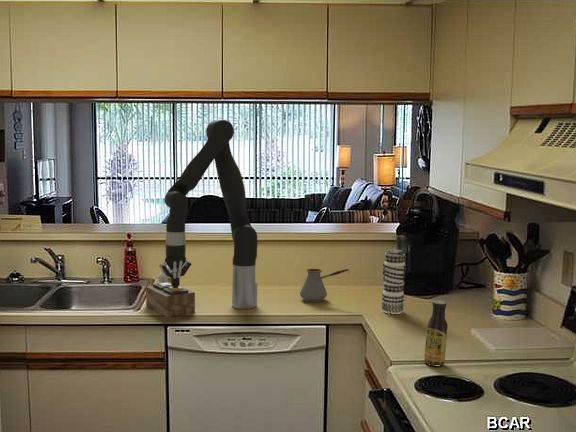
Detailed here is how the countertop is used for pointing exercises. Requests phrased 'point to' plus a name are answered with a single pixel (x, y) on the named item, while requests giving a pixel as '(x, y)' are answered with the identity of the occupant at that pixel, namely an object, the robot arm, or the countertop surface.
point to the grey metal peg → (165, 284)
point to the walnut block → (170, 300)
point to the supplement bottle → (164, 277)
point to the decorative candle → (393, 281)
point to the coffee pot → (315, 285)
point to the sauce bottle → (436, 335)
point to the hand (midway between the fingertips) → (175, 287)
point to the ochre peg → (175, 288)
